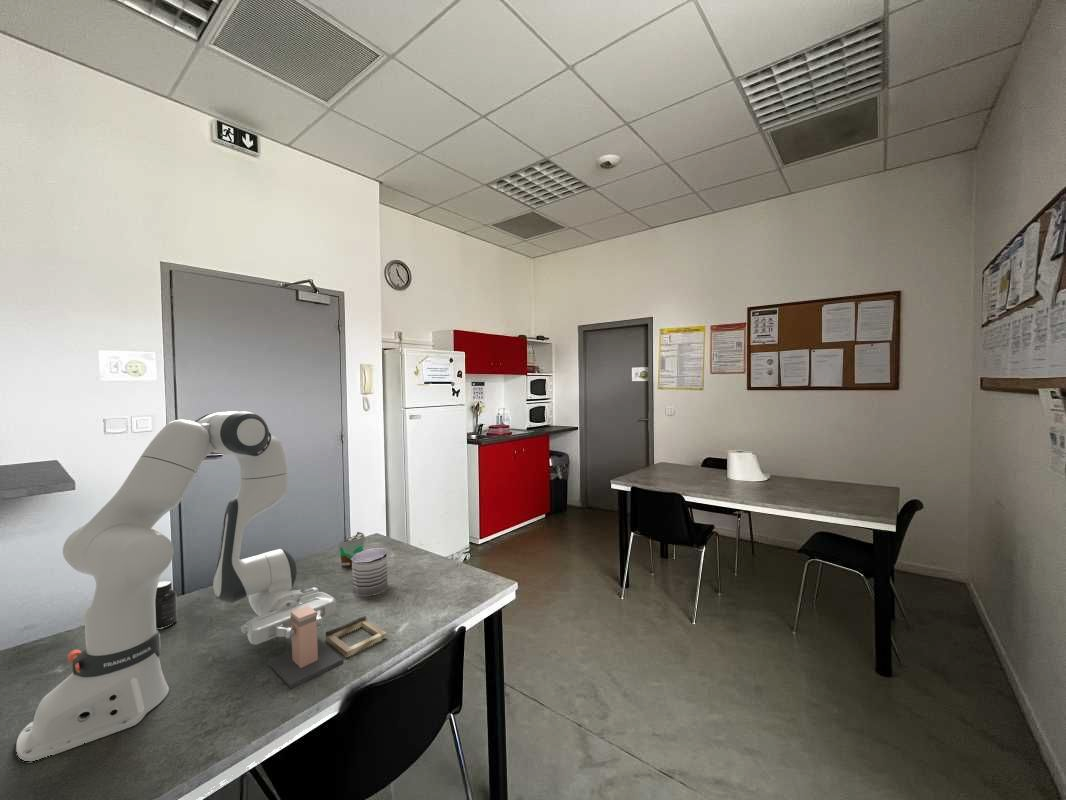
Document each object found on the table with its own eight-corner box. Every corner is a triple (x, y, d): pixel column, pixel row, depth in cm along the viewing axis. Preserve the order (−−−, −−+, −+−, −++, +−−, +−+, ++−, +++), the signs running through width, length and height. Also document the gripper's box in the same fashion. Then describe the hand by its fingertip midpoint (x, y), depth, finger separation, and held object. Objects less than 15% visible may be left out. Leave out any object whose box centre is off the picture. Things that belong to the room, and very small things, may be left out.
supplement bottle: (140, 630, 126) (138, 588, 125) (165, 617, 132) (163, 577, 132) (159, 632, 124) (157, 590, 124) (183, 620, 131) (181, 579, 130)
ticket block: (300, 668, 106) (298, 618, 105) (292, 659, 109) (290, 611, 109) (318, 660, 109) (316, 611, 108) (309, 652, 112) (307, 605, 112)
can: (381, 596, 143) (380, 559, 143) (346, 597, 143) (345, 560, 143) (392, 580, 154) (391, 546, 154) (360, 581, 154) (359, 547, 154)
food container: (354, 569, 165) (353, 543, 164) (339, 568, 166) (338, 542, 165) (372, 557, 177) (371, 532, 176) (358, 556, 178) (357, 531, 178)
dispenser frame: (346, 658, 111) (346, 648, 111) (325, 640, 119) (325, 631, 118) (386, 638, 119) (386, 629, 119) (364, 623, 127) (363, 614, 127)
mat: (290, 688, 100) (290, 684, 100) (268, 663, 109) (267, 660, 109) (342, 662, 109) (342, 659, 109) (317, 641, 118) (317, 638, 118)
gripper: (237, 614, 109) (257, 634, 100) (321, 584, 125) (345, 599, 116) (238, 639, 109) (258, 661, 100) (322, 607, 125) (346, 623, 116)
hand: (305, 628), depth 108 cm, fingers open, 5 cm apart
